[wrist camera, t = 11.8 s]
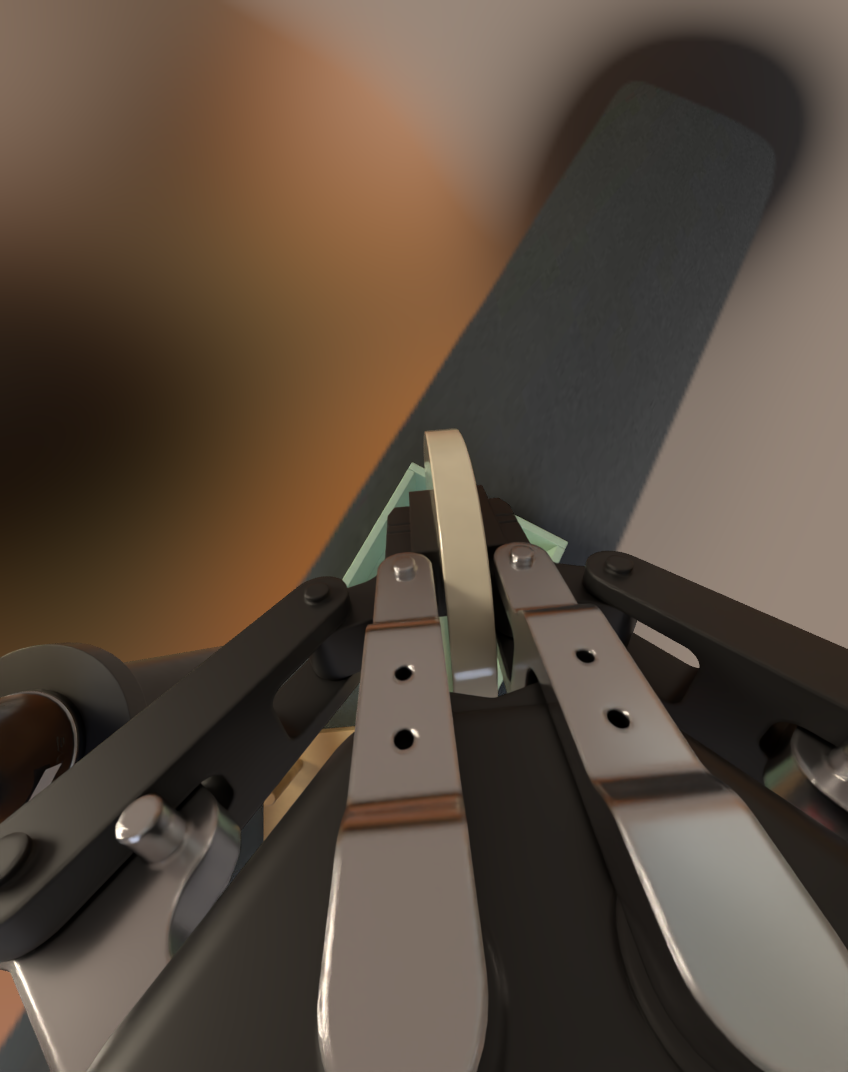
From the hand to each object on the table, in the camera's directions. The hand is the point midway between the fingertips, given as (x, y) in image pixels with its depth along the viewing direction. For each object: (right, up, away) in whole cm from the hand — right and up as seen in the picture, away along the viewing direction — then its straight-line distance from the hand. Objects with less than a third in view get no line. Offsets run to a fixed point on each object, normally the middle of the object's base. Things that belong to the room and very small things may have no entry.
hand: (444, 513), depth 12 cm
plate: (0, -2, 0) cm, 2 cm away
